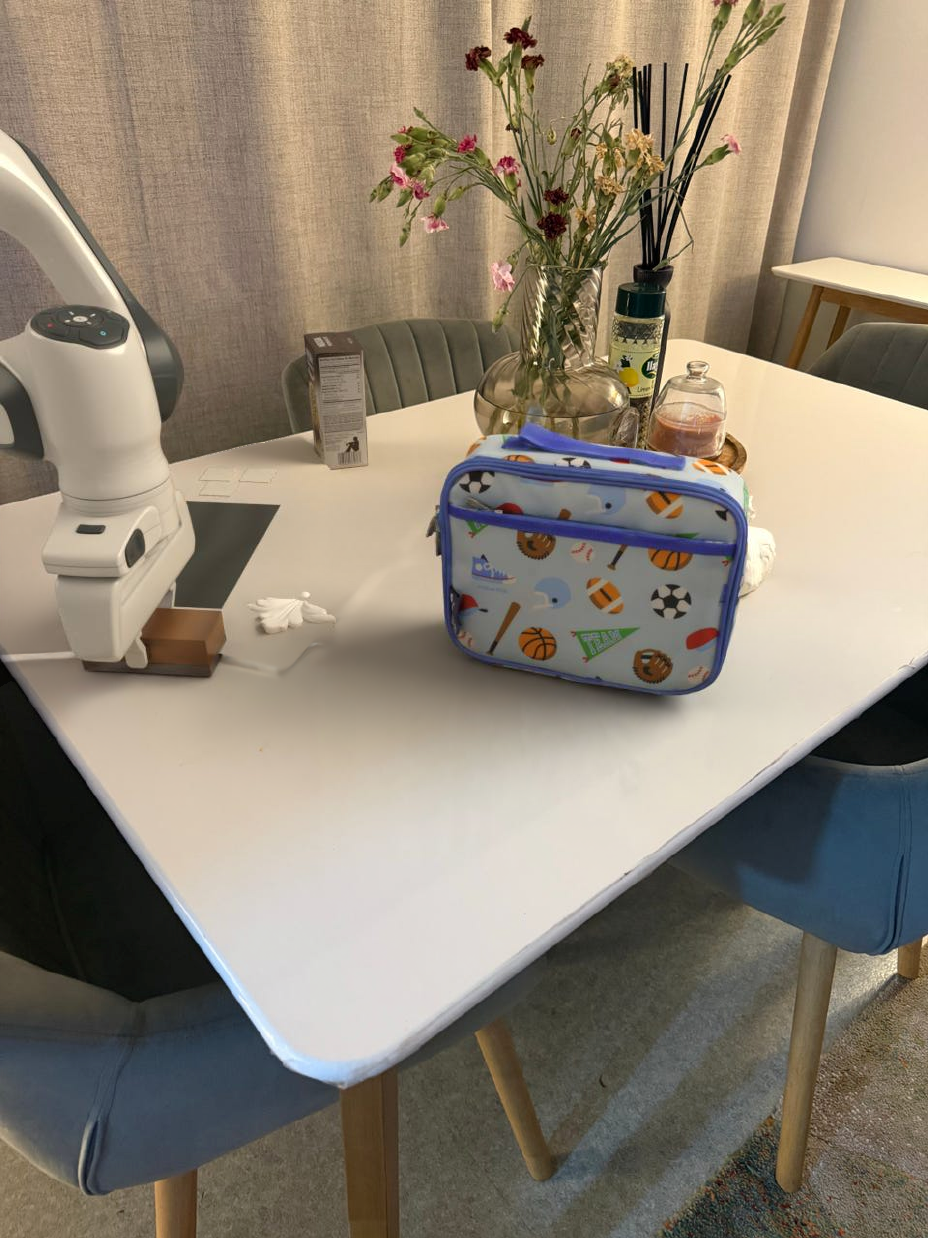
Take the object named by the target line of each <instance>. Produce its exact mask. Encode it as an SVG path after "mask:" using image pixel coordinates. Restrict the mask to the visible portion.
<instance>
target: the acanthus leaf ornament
mask: <svg viewBox="0 0 928 1238" xmlns="http://www.w3.org/2000/svg"><path fill="white" fill-rule="evenodd" d="M310 595H311V594H310V592H308V591H301V592H300V593H299V594H298V596H299V597H301V598H308V597H310ZM246 607H247V608H248V609H249V610H251V611H254V612H258V613H259V615H258V618H259V620H260V625H261V626H262V627H263V629H264V631H265V633H267V634H269V635H273V634H276V633H280V632H284V631H286V630H287V629H288V628H289V627H290V628H293V629H296V628H299V627H300V626H301V625H302V624H303V622H304V620H306V621H308V622H309V623H310V622H311V623H314V624H324V623H331V622H332V628H336V623H337V619H336V617H335V616H334V615H332V614H330V613H327V610H326V609H325V608H322V607H320V606H317V605H314V604H311V603H309V602H308V601H307V599H306V600H300V599H297V598H276V597H265V598H264V599H257V600H256V601H255V603H247V604H246Z"/></svg>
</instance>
